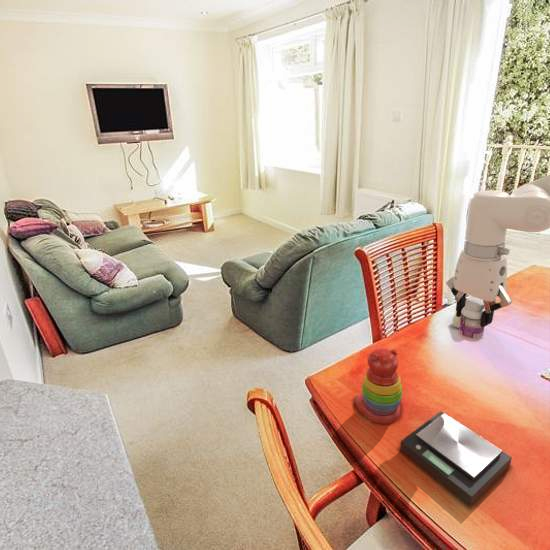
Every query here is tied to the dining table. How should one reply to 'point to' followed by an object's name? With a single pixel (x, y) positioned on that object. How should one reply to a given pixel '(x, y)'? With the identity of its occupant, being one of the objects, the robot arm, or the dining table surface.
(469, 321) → the pill bottle
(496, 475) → the scale
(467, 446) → the weighing pan
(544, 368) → the dining table surface
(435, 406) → the dining table surface
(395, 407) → the stacking bear
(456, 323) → the seashell
